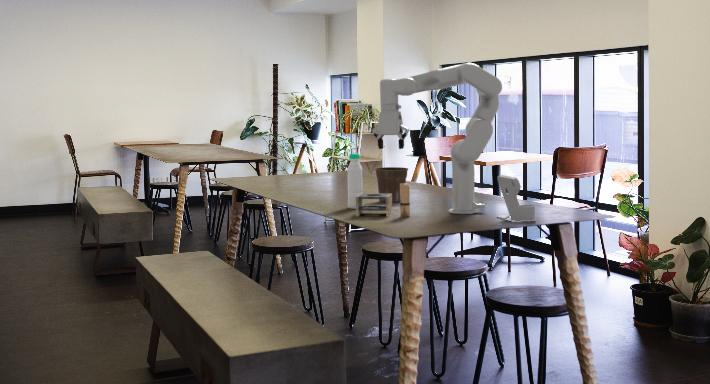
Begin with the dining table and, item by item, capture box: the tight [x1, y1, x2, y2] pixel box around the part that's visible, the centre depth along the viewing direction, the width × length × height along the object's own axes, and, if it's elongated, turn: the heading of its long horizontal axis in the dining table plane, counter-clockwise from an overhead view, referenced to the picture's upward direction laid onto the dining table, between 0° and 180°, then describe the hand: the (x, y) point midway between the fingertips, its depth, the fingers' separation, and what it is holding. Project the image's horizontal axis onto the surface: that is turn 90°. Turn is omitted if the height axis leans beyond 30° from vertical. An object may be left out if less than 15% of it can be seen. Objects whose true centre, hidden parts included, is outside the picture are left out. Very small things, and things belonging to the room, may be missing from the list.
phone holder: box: [496, 174, 536, 221], centre depth 340 cm, size 17×10×18 cm, turn 16°
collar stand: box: [355, 193, 393, 218], centre depth 362 cm, size 14×12×8 cm
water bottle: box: [346, 153, 364, 210], centre depth 385 cm, size 7×7×25 cm
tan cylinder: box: [399, 182, 411, 218], centre depth 353 cm, size 4×4×14 cm
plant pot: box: [374, 166, 409, 204], centre depth 406 cm, size 16×16×16 cm
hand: (391, 148), depth 356 cm, fingers open, 9 cm apart
